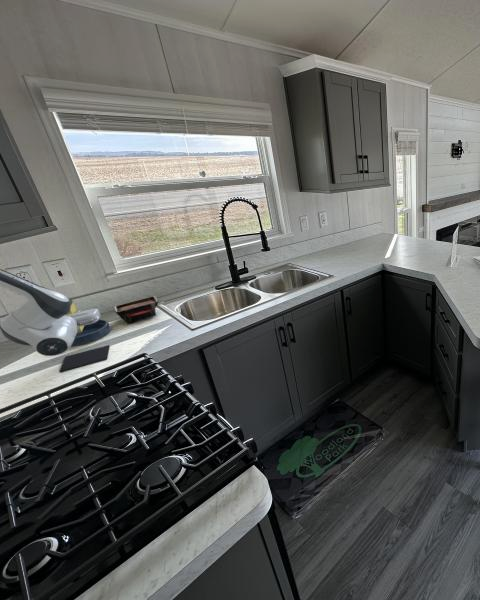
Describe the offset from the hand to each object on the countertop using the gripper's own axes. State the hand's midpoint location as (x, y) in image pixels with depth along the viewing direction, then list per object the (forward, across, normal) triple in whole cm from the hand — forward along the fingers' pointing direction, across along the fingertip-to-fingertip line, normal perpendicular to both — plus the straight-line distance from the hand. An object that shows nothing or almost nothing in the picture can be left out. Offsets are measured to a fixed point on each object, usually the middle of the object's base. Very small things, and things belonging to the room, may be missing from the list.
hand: (68, 314), depth 129 cm
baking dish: (+25, -18, +17) cm, 35 cm away
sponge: (-1, 0, +7) cm, 7 cm away
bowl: (+16, +2, +17) cm, 23 cm away
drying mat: (-7, 0, +17) cm, 19 cm away
